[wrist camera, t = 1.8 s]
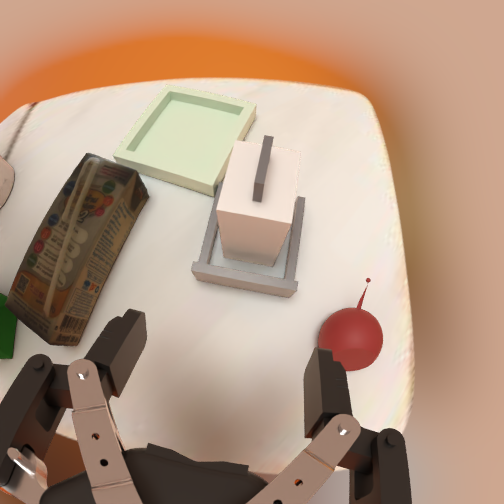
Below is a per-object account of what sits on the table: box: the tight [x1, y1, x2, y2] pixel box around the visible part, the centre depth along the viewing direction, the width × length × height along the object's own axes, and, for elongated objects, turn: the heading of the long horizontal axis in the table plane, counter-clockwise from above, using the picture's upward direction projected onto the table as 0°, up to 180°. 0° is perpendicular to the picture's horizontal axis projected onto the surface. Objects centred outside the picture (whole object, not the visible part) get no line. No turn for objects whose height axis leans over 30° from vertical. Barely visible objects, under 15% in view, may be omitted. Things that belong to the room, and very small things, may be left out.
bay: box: [191, 182, 305, 298], centre depth 28 cm, size 9×10×4 cm
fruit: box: [318, 278, 383, 371], centre depth 25 cm, size 6×6×8 cm
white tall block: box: [216, 135, 301, 267], centre depth 24 cm, size 5×6×13 cm
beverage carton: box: [5, 153, 149, 346], centre depth 26 cm, size 8×19×7 cm, turn 158°
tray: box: [113, 85, 257, 197], centre depth 33 cm, size 13×13×2 cm
